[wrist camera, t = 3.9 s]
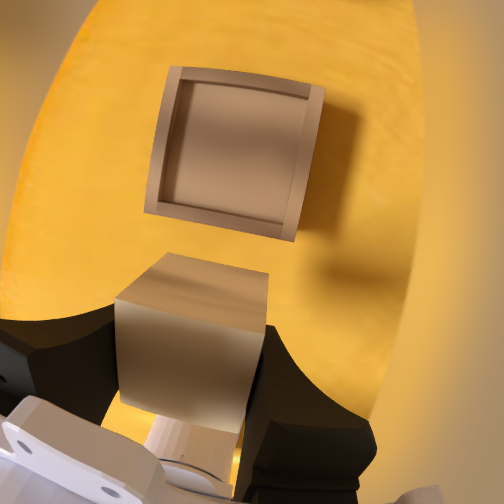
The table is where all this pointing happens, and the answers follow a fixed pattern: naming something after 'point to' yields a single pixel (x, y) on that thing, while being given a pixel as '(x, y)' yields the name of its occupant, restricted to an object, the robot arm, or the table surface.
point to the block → (191, 340)
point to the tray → (233, 150)
